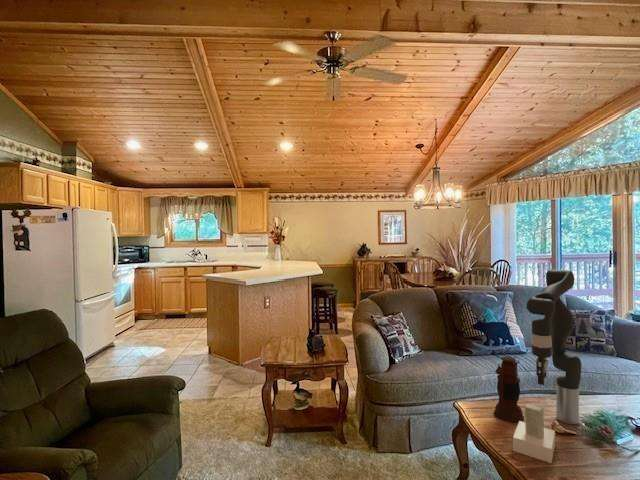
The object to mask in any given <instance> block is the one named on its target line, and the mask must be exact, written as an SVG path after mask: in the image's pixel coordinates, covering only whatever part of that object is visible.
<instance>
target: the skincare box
mask: <svg viewBox="0 0 640 480" xmlns="http://www.w3.org/2000/svg"><path fill="white" fill-rule="evenodd" d="M524 422H525V430H526V433H527V434H529V435H532V436H535V437H537V438H540V439H541V438H542V437H543V435H544V428H545V426H544V425H545V421H544V407H542V406H539V405H536V404H532V403H526V405H524Z"/></svg>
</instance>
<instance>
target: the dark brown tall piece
mask: <svg viewBox="0 0 640 480" xmlns="http://www.w3.org/2000/svg"><path fill="white" fill-rule="evenodd" d="M500 359H501V363H498V364H497V368H496V370H495V373H496V374H497V375H496V376H497V377H496V378H497V384H496V389H497V394H498V402H497V403H496V405H495V407H494V410H493V415H494V417H495V418H497V420H500V421H503V422H504V423H509V424H518V423H519V421H522V422H525V415H523V410H522V407H521V406H520V405H519V404H518V402H519V399H520V394H521V386H520V383H521V380H520V378H519V377H518V375H519V372H518V364H519V363H520V358H518V357H517V356H514V357H511V356H502V357H501V358H500ZM517 359H518V361H517Z"/></svg>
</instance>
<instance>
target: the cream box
mask: <svg viewBox="0 0 640 480" xmlns="http://www.w3.org/2000/svg"><path fill="white" fill-rule="evenodd" d="M512 436H513V437H512V451H513V452H515V453H519V454H521V455H525V456H527V457H531V458H534V459H537V460H540V461H543V462H546V461H547V462H546V463H549V464H552V463H553V462H552V461H553V456H554V453H553V452H555V447H556V430H553V429H549V428H546V427H544V435H543V437H542V438H541V439H540V438H537V437H535V436H532V435H529V434H527V433H526V430H525V421H523V422H522V421H519V423H517V426H516V429H515V431H514V434H513V435H512Z"/></svg>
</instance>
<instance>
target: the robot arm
mask: <svg viewBox="0 0 640 480" xmlns="http://www.w3.org/2000/svg"><path fill="white" fill-rule="evenodd" d="M545 280H546V281H545V282H546V286H545V287H544V288H543V289H541V291H540V292H539V293H537V294H535V295H533V296H531V297H530V298H529V299H528V300H527V302H526V306H525V307H526V310H527V312H529V313H530V314H532V315H539V316H544V318H538V319H534V320H532V321H531V339H530V340H531V354H532V355H533V356H535V357H536V359H535V363H536V365H535V369H536V376H537V384H538V385H540V386H544V384H545V378H547V369H548V361H549V359H548V358H551V359H552V365H553V367H554V368H556V369H557V370H559V371H563V372H564V373H565V375H564V376H563V375H562V376H557V378H556V381H555V383H556V385H555V386H556V395H555V396H556V416H555V417H556V419H557V420H558V421H560V422H561V423H565V424H569V425H578V424H579V423H580V383H581V379H582V361H581V359H580V358H579V356H577V355H574V354H572V353H569V352H567V351H566V349H567V348H566V342H567V341H568V338H569V337H570V335H571V334H572V332H573V331H574V316H573V313H572V312H571V310H570V309H569V307H568V306H567V305H566V304H565V303H564V302H563V301H562V299H561V296H562V295H564V294H565V293H568V291H569V290H571V289H572V288H573V287H574V285H575V274H574V272H573V271H571V270H569V269H548V270H547V271H546V273H545Z"/></svg>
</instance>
